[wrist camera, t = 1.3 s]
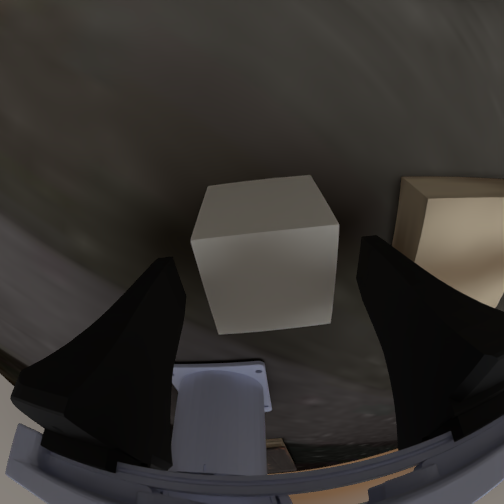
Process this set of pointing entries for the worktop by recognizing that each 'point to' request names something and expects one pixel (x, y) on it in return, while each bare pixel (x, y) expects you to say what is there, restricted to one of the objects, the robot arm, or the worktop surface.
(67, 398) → the robot arm
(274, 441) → the hardcover book
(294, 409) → the worktop surface
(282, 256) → the cream cube
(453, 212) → the oak plinth
